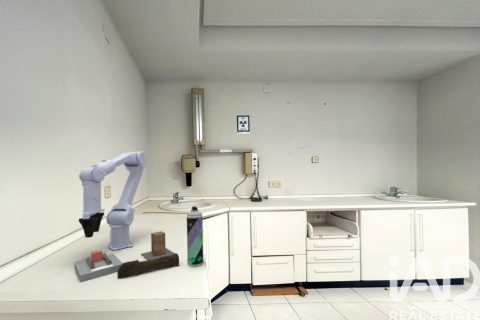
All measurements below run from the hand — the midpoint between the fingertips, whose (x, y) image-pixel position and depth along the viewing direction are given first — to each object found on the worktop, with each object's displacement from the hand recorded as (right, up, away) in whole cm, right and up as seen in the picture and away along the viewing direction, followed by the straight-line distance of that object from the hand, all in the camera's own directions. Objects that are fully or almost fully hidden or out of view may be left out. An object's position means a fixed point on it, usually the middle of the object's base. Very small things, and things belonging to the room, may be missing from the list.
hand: (92, 234), depth 88 cm
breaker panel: (+8, -9, -9) cm, 15 cm away
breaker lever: (+6, -7, -7) cm, 12 cm away
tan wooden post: (+24, -9, +3) cm, 26 cm away
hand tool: (+27, -9, -12) cm, 31 cm away
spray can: (+41, -8, -7) cm, 42 cm away
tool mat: (+24, -9, +3) cm, 26 cm away
